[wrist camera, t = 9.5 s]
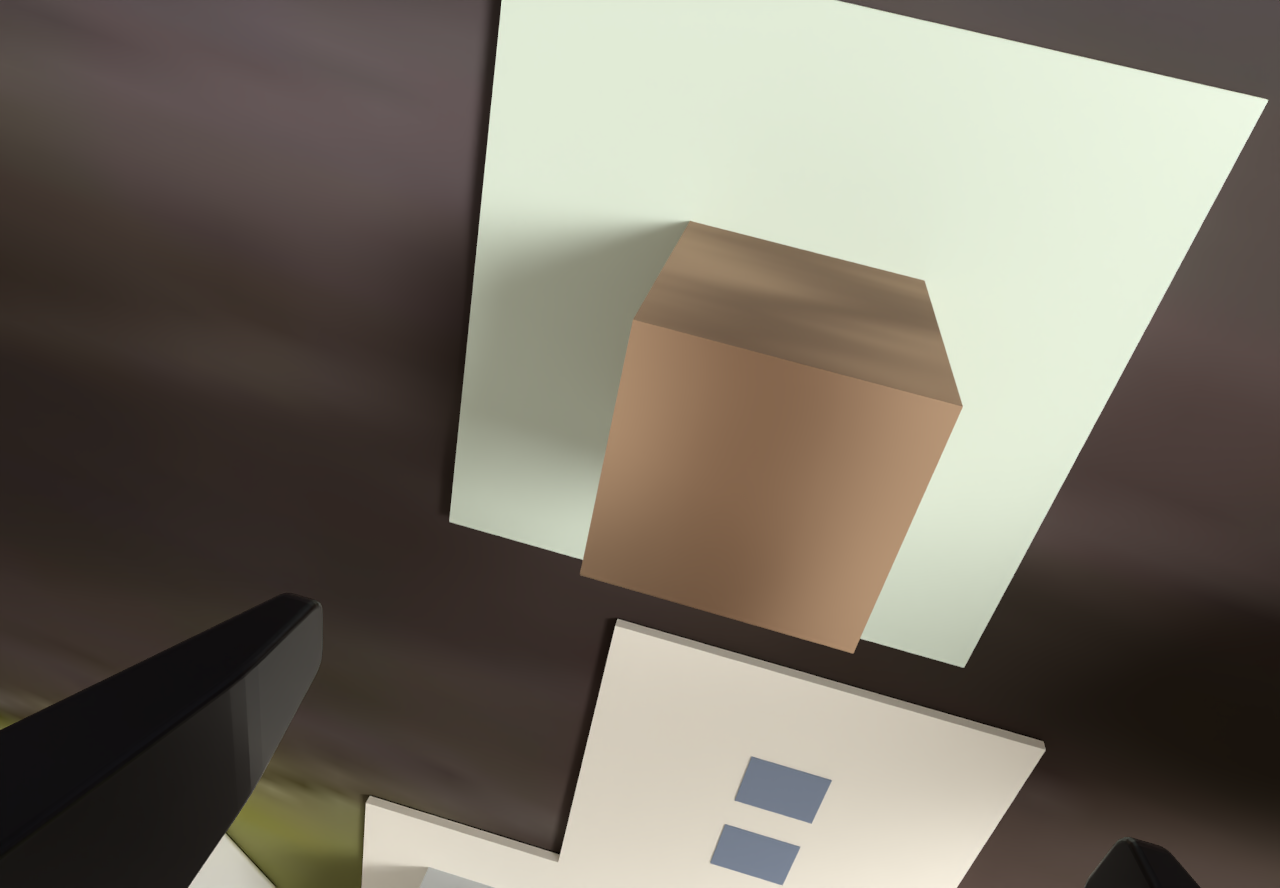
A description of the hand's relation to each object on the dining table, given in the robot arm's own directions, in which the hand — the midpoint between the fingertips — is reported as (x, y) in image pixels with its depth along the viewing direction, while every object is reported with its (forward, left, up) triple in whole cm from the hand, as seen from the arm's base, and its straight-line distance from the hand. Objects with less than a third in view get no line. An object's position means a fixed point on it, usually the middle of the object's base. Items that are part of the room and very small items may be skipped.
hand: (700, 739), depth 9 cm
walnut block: (0, 0, -11) cm, 11 cm away
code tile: (-4, +15, -12) cm, 19 cm away
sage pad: (0, 0, -12) cm, 12 cm away
